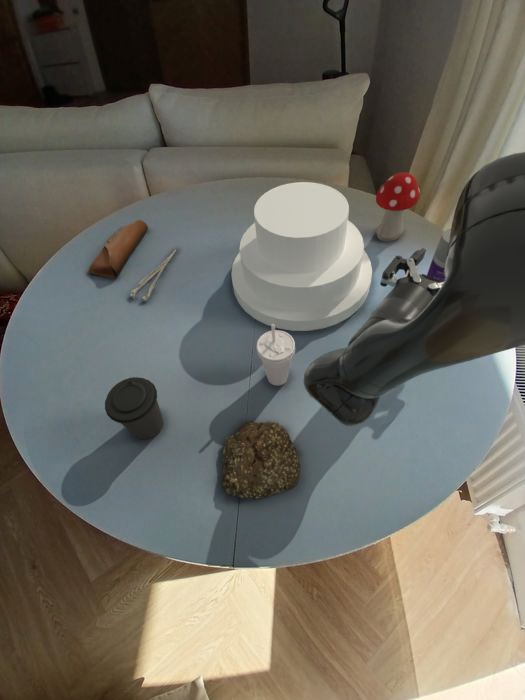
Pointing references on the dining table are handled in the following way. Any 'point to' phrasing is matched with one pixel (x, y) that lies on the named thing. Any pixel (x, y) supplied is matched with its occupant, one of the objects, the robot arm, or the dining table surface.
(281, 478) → the bread roll
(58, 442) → the dining table surface
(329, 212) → the cake
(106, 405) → the coffee cup
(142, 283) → the jawbone
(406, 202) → the decorative mushroom
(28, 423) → the dining table surface
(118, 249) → the sunglasses case
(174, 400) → the dining table surface
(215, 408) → the dining table surface
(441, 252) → the container
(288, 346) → the smoothie
